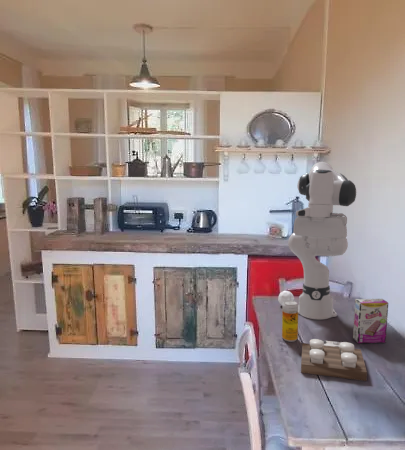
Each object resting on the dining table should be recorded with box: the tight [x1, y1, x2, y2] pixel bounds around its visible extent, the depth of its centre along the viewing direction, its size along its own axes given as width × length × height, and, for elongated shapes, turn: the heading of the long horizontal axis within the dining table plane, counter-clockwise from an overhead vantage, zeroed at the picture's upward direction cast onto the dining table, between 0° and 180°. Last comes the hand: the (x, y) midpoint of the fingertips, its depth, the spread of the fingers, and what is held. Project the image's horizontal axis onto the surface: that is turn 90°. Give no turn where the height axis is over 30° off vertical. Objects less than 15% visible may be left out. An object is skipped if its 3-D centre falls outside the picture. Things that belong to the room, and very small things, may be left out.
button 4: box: [341, 352, 357, 368], centre depth 122 cm, size 5×5×4 cm
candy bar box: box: [352, 298, 389, 344], centre depth 144 cm, size 11×5×16 cm, turn 92°
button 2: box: [339, 341, 355, 354], centre depth 129 cm, size 5×5×4 cm
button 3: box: [310, 349, 325, 364], centre depth 125 cm, size 5×5×4 cm
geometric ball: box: [277, 290, 295, 306], centre depth 185 cm, size 8×8×8 cm
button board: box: [300, 342, 368, 382], centre depth 127 cm, size 16×20×3 cm
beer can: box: [281, 300, 299, 343], centre depth 147 cm, size 6×6×15 cm
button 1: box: [309, 338, 324, 350], centre depth 132 cm, size 5×5×4 cm
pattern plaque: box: [321, 339, 342, 347], centre depth 141 cm, size 7×9×1 cm
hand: (318, 249), depth 140 cm, fingers open, 8 cm apart
